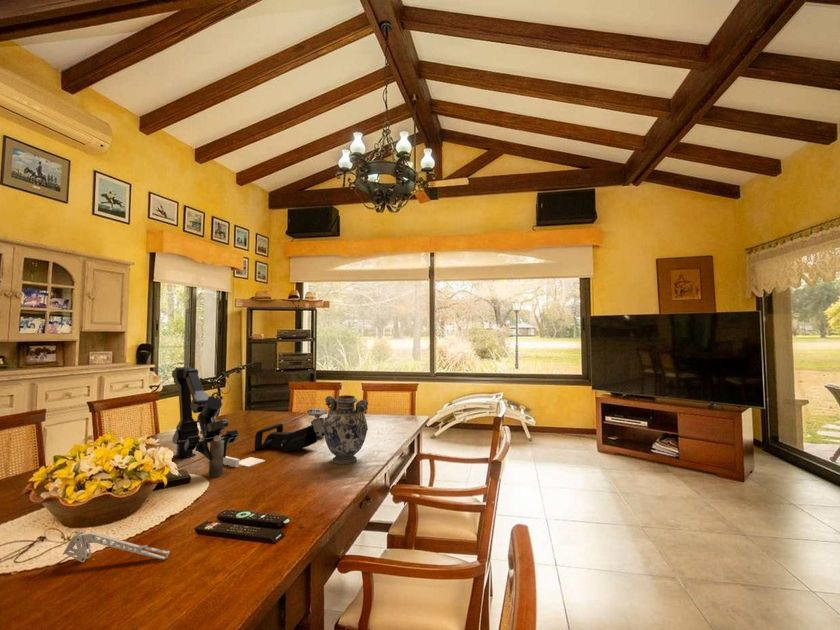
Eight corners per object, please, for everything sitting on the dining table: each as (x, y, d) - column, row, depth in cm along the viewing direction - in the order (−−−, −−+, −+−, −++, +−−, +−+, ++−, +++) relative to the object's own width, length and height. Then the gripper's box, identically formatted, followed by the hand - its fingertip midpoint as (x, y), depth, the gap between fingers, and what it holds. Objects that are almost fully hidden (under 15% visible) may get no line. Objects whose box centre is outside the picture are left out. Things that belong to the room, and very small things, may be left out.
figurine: (307, 434, 221) (308, 406, 222) (328, 435, 221) (329, 407, 222) (302, 438, 212) (303, 409, 213) (324, 439, 212) (325, 410, 212)
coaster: (233, 463, 170) (233, 462, 170) (250, 457, 178) (250, 457, 178) (248, 467, 166) (248, 466, 166) (265, 461, 174) (265, 460, 174)
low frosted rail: (211, 461, 172) (211, 454, 172) (214, 460, 173) (214, 453, 174) (236, 467, 166) (236, 460, 166) (239, 466, 167) (239, 459, 167)
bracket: (71, 548, 99) (93, 511, 100) (152, 586, 100) (172, 548, 101) (61, 555, 96) (84, 517, 97) (144, 594, 97) (166, 556, 98)
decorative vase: (376, 457, 183) (377, 395, 184) (356, 470, 166) (357, 401, 167) (334, 451, 190) (335, 392, 191) (311, 464, 173) (313, 398, 174)
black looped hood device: (305, 447, 181) (294, 415, 183) (257, 465, 188) (248, 434, 191) (325, 438, 197) (316, 409, 199) (281, 455, 204) (272, 426, 207)
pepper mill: (205, 475, 155) (207, 435, 156) (216, 472, 160) (218, 433, 160) (214, 478, 153) (216, 437, 154) (225, 474, 158) (227, 434, 158)
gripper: (188, 415, 153) (198, 451, 145) (237, 409, 167) (249, 442, 159) (180, 433, 158) (189, 468, 150) (228, 425, 172) (239, 457, 164)
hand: (218, 458), depth 156 cm, fingers closed on pepper mill, 5 cm apart
